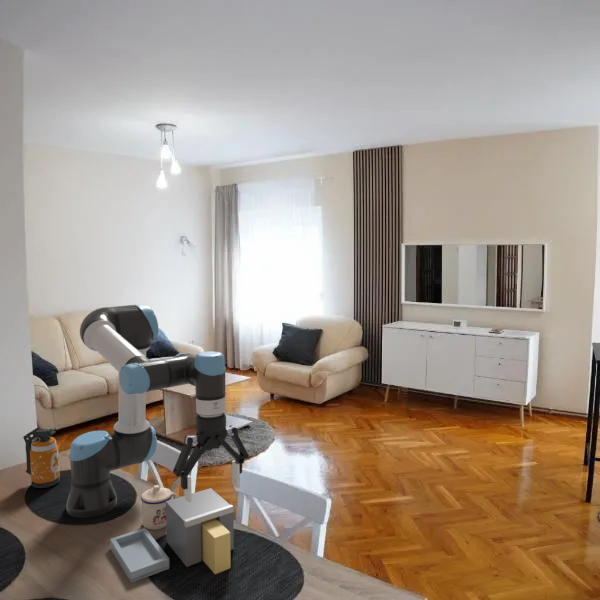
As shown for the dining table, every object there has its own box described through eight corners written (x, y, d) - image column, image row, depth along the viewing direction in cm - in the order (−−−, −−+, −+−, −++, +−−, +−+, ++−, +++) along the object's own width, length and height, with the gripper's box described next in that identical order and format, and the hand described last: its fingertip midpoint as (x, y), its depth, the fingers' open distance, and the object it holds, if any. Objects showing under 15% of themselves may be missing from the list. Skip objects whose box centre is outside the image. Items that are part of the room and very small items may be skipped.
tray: (110, 548, 146) (110, 538, 146) (145, 536, 152) (145, 527, 152) (131, 582, 132) (131, 572, 132) (169, 568, 138) (169, 558, 137)
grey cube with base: (166, 542, 150) (165, 500, 148) (211, 526, 158) (210, 486, 156) (186, 566, 138) (185, 521, 137) (233, 549, 147) (233, 506, 145)
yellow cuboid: (195, 551, 145) (194, 517, 144) (210, 546, 148) (209, 512, 147) (215, 574, 136) (214, 538, 134) (230, 568, 138) (230, 532, 137)
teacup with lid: (154, 534, 154) (153, 496, 152) (135, 524, 159) (134, 487, 158) (186, 517, 163) (185, 481, 162) (167, 508, 169) (166, 473, 167)
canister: (52, 490, 180) (49, 433, 178) (20, 489, 180) (17, 433, 178) (64, 478, 189) (62, 424, 187) (33, 477, 189) (31, 424, 187)
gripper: (169, 426, 124) (172, 512, 126) (260, 407, 138) (261, 485, 140) (158, 418, 130) (160, 500, 132) (246, 401, 144) (247, 475, 146)
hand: (212, 492), depth 136 cm, fingers open, 13 cm apart
